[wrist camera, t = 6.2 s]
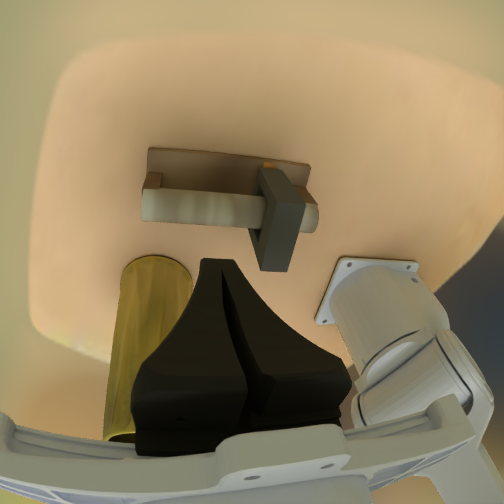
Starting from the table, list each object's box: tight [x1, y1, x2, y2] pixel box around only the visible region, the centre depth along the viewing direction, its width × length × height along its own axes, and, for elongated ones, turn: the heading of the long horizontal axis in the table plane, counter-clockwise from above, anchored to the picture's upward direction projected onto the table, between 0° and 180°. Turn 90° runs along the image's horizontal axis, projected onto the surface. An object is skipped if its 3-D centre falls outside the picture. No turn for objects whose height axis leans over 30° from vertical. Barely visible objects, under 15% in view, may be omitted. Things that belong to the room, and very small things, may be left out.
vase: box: [103, 256, 193, 444], centre depth 20 cm, size 6×6×14 cm
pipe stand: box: [141, 147, 319, 233], centre depth 20 cm, size 11×5×4 cm, turn 79°
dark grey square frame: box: [248, 167, 306, 272], centre depth 20 cm, size 2×4×5 cm, turn 169°
